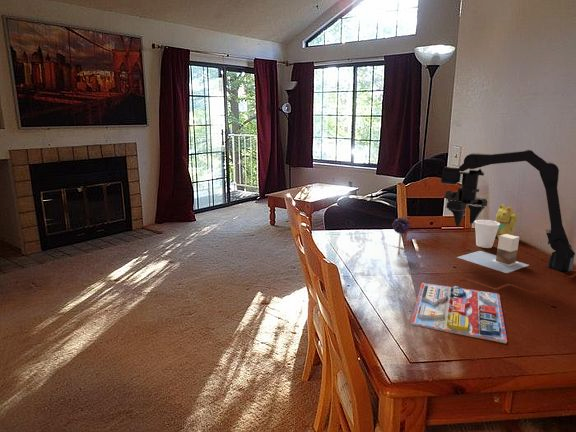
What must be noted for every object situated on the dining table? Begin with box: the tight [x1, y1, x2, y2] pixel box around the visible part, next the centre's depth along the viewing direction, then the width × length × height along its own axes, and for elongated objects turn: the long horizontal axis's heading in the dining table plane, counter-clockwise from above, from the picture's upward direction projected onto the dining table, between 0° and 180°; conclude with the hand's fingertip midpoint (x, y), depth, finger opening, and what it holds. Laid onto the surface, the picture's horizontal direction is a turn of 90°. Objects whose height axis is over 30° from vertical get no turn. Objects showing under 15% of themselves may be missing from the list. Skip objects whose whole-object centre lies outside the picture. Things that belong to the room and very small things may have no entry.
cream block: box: [497, 234, 520, 252], centre depth 156 cm, size 5×5×5 cm
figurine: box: [495, 203, 518, 239], centre depth 192 cm, size 11×9×15 cm
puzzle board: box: [410, 282, 508, 344], centre depth 119 cm, size 30×23×3 cm
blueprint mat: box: [456, 250, 530, 274], centre depth 158 cm, size 20×16×1 cm
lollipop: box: [391, 217, 411, 255], centre depth 165 cm, size 7×7×15 cm
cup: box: [473, 219, 500, 249], centre depth 176 cm, size 10×10×11 cm
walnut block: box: [495, 247, 518, 265], centre depth 157 cm, size 5×5×5 cm
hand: (464, 224), depth 164 cm, fingers open, 9 cm apart
